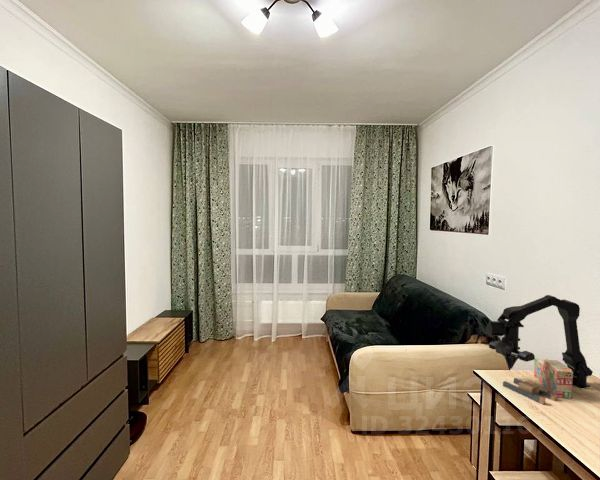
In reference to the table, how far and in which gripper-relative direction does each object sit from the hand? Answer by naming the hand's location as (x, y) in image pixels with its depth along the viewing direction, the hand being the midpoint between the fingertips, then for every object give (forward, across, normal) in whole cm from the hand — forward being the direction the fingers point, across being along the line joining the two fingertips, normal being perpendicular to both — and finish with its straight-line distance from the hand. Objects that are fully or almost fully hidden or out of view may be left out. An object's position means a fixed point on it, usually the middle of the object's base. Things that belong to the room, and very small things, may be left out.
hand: (510, 368), depth 165 cm
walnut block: (+8, +9, 0) cm, 12 cm away
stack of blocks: (+8, +10, +15) cm, 20 cm away
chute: (+8, +9, 0) cm, 12 cm away
